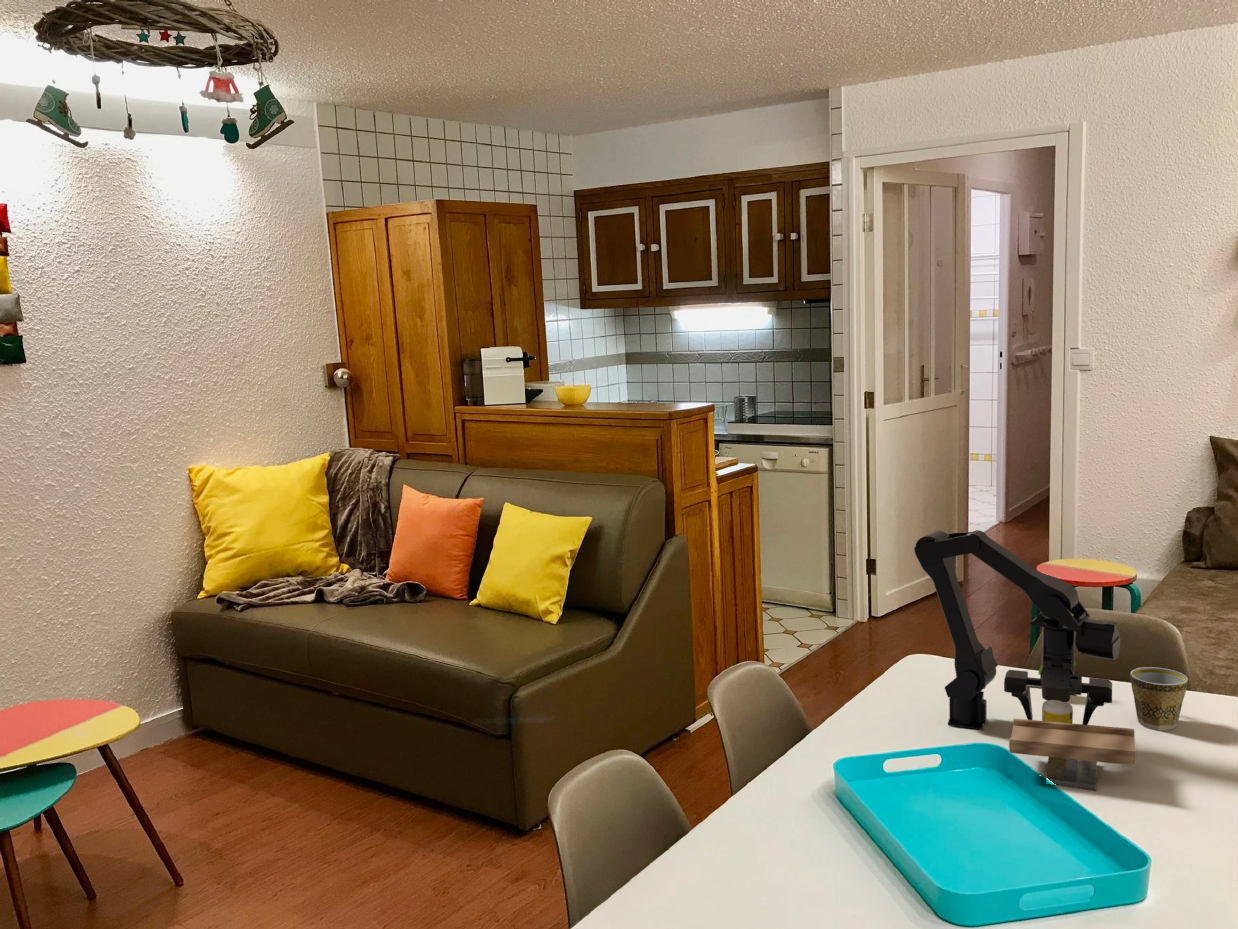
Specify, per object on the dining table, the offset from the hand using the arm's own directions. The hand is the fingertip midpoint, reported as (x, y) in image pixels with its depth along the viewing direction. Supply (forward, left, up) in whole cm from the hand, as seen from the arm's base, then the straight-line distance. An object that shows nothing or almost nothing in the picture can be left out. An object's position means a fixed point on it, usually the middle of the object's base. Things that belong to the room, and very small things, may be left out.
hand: (1056, 728), depth 196 cm
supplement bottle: (0, 0, -3) cm, 3 cm away
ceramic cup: (+17, +16, -3) cm, 24 cm away
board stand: (+3, -14, -2) cm, 15 cm away
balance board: (+3, -14, +2) cm, 15 cm away
